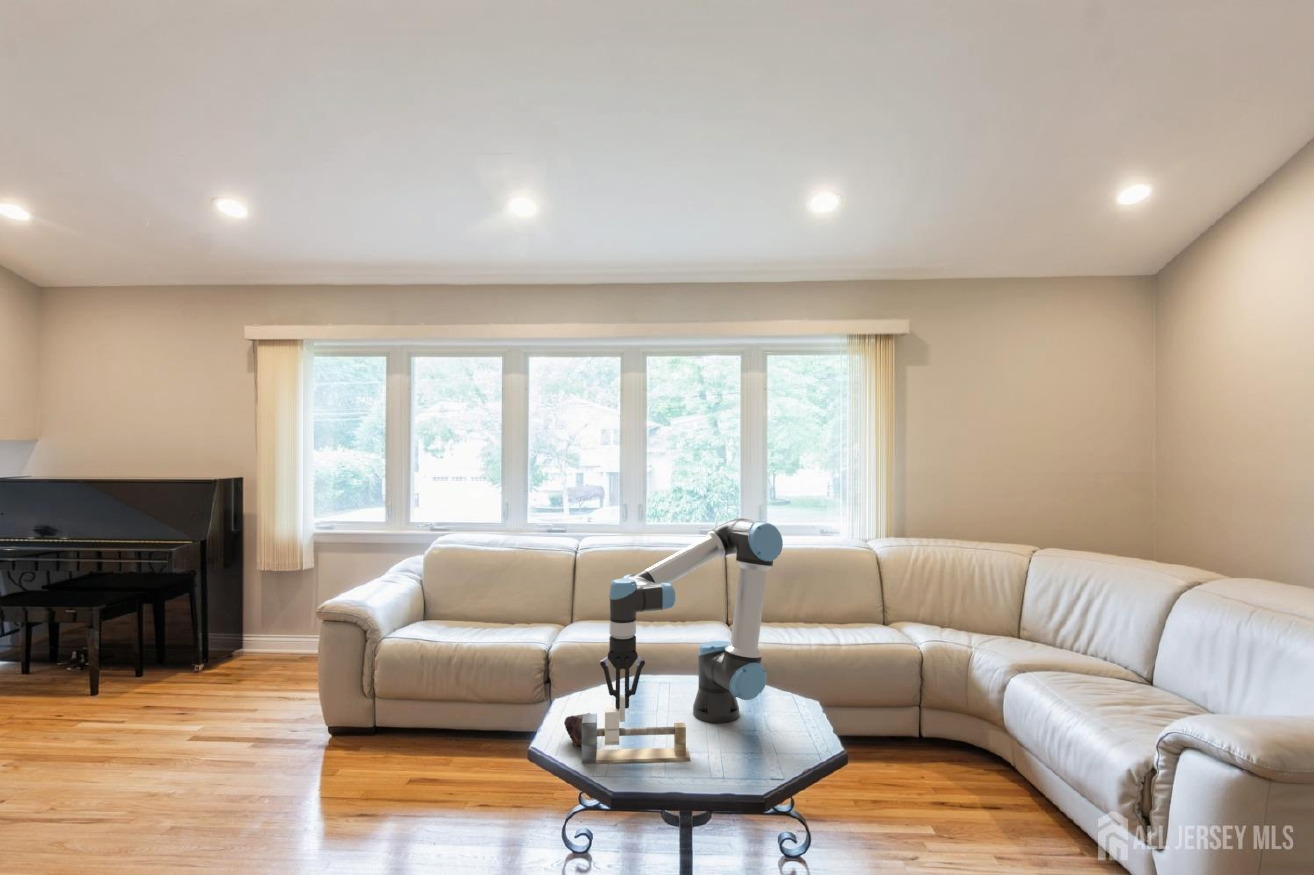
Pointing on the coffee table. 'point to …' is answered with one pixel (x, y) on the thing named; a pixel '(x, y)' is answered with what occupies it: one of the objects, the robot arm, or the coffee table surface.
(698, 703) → the robot arm
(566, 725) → the rock
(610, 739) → the sleeve
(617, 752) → the rail
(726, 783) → the coffee table surface
